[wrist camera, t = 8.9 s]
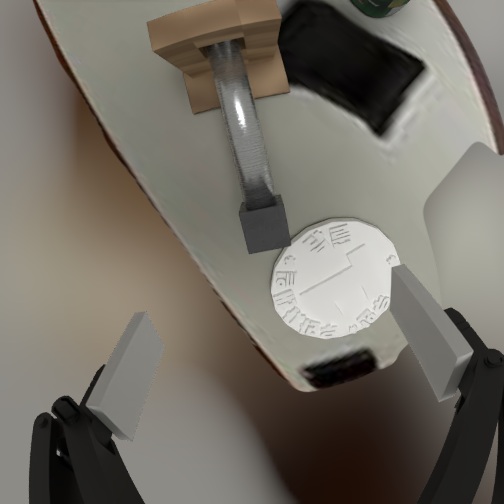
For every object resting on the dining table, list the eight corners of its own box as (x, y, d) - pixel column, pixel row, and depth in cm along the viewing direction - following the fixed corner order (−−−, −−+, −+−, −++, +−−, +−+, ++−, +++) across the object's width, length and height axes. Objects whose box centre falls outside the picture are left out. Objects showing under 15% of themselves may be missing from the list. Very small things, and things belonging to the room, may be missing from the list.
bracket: (173, 24, 26) (127, -23, 12) (263, 2, 25) (264, -60, 11) (195, 113, 32) (151, 104, 18) (289, 92, 30) (309, 66, 17)
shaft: (202, 45, 22) (194, 33, 18) (242, 36, 21) (239, 22, 17) (250, 238, 30) (248, 254, 26) (287, 230, 29) (291, 245, 26)
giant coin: (391, 314, 44) (397, 324, 42) (283, 339, 46) (284, 351, 44) (392, 204, 36) (401, 210, 34) (258, 230, 38) (258, 238, 36)
